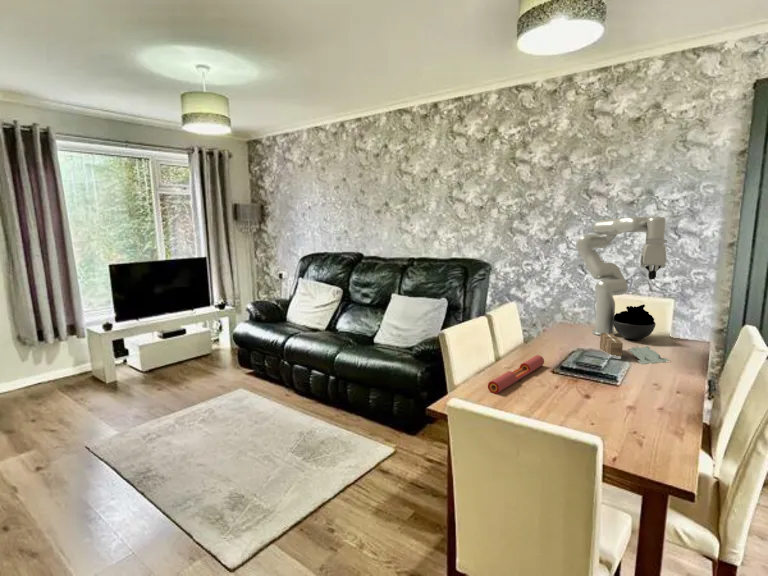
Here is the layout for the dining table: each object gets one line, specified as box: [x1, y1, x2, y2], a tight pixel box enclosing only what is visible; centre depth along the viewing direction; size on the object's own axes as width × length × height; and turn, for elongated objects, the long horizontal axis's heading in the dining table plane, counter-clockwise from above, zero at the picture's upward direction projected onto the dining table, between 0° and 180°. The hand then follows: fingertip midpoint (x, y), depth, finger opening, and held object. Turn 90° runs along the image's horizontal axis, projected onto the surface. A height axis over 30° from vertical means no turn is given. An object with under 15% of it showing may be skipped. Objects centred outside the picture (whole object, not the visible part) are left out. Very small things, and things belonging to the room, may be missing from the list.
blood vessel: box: [487, 355, 545, 395], centre depth 176 cm, size 42×5×5 cm, turn 137°
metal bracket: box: [627, 345, 671, 365], centre depth 196 cm, size 14×6×15 cm
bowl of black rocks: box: [613, 303, 657, 341], centre depth 227 cm, size 20×20×19 cm
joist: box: [599, 333, 624, 357], centre depth 204 cm, size 18×5×8 cm, turn 167°
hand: (651, 279), depth 209 cm, fingers closed
